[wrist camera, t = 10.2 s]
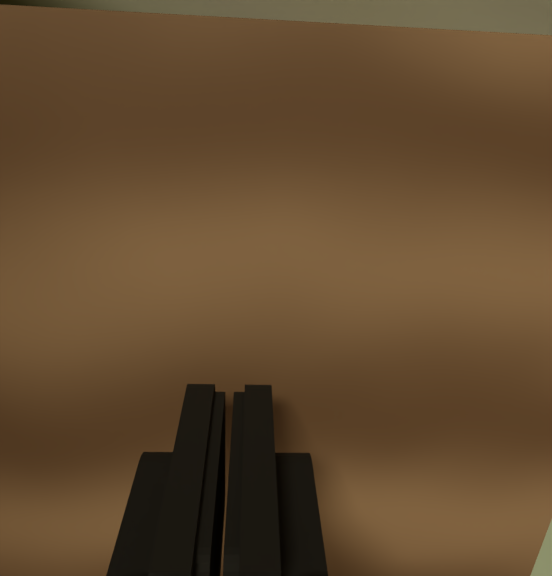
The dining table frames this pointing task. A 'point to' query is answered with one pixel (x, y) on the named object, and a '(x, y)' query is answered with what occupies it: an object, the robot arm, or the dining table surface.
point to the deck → (278, 275)
